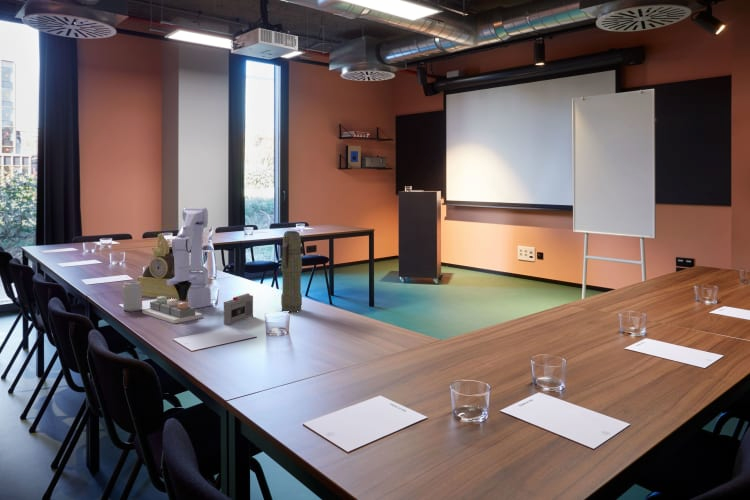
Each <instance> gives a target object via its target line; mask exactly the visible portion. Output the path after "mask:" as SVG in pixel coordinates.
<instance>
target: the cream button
mask: <svg viewBox="0 0 750 500" xmlns="http://www.w3.org/2000/svg"><path fill="white" fill-rule="evenodd" d="M177 303H178V300H177V299H167V306H169V307H171V306H177Z"/></svg>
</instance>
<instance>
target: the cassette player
mask: <svg viewBox="0 0 750 500" xmlns="http://www.w3.org/2000/svg"><path fill="white" fill-rule="evenodd" d="M252 317H254V295H250V293H244V294H241V295H238V296H235V297H232V299H230V300H226V301H224V302H223V325H226V326H230V325H231V326H232V325H234V324H236V323H239V322H242V321H245V320H247V319H250V318H252Z"/></svg>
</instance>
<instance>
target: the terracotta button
mask: <svg viewBox="0 0 750 500" xmlns="http://www.w3.org/2000/svg"><path fill="white" fill-rule="evenodd" d="M177 303H178V309H179V310H183V309H188V301H181V302H177Z"/></svg>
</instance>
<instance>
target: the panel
mask: <svg viewBox="0 0 750 500" xmlns="http://www.w3.org/2000/svg"><path fill="white" fill-rule="evenodd" d="M178 303H179V302H177V306H171V307H169V306H167V302H166V303H160V304H159V303H157V300H152V301H149V308H145V309H142V314H144V315H147V316H150V317H154V318H156V319H159V320H162V321H165V322H168V323H171V324H177V323H183V322H188V321H193V320H197V319H202V318H203V317H204V314H203V313H201V312H197V311H196V308H194V307H190V306H188V309H183V310H179V309H178Z"/></svg>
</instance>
